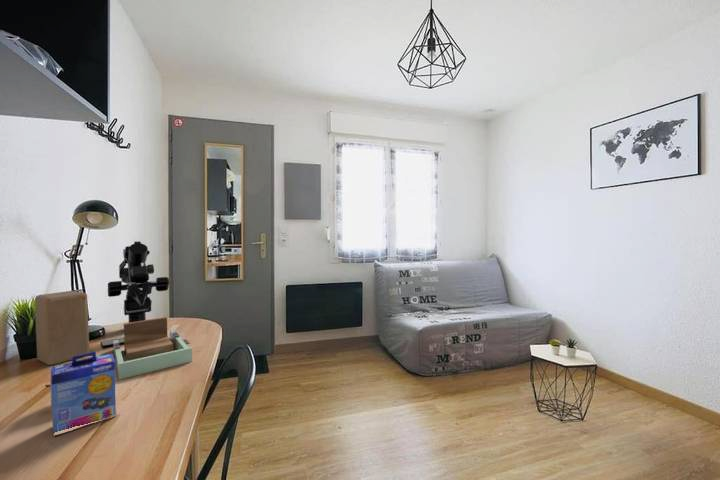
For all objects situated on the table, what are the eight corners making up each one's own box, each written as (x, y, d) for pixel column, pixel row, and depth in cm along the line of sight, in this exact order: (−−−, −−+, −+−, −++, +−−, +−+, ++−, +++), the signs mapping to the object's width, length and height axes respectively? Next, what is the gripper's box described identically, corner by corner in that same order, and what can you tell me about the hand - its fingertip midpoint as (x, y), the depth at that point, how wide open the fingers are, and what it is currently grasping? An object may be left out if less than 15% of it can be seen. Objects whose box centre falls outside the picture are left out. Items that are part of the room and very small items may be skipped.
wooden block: (90, 355, 101) (88, 292, 100) (48, 367, 92) (45, 298, 91) (77, 349, 106) (75, 289, 105) (36, 360, 97) (33, 295, 97)
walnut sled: (124, 350, 105) (123, 323, 105) (166, 342, 113) (165, 316, 112) (127, 361, 96) (126, 332, 95) (173, 351, 103) (172, 324, 103)
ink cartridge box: (52, 439, 60) (49, 362, 59) (52, 426, 64) (49, 354, 63) (118, 417, 67) (115, 348, 66) (114, 406, 71) (111, 342, 70)
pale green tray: (102, 351, 103) (101, 339, 103) (182, 336, 118) (182, 325, 118) (104, 382, 82) (104, 367, 82) (203, 358, 97) (202, 345, 97)
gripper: (107, 259, 113) (109, 295, 104) (167, 256, 125) (174, 288, 117) (106, 279, 119) (109, 314, 111) (164, 274, 131) (170, 305, 123)
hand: (142, 304), depth 115 cm, fingers closed
